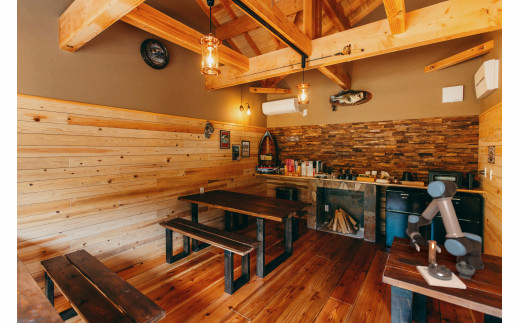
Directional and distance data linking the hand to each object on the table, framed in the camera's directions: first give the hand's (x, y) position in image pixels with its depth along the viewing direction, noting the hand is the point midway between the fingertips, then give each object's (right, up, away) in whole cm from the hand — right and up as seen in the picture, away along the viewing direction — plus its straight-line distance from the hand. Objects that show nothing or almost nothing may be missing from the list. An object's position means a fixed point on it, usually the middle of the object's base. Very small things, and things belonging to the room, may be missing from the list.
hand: (429, 249), depth 170 cm
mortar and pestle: (+15, -14, -12) cm, 24 cm away
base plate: (-2, -14, -13) cm, 19 cm away
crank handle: (-2, -12, -10) cm, 15 cm away
